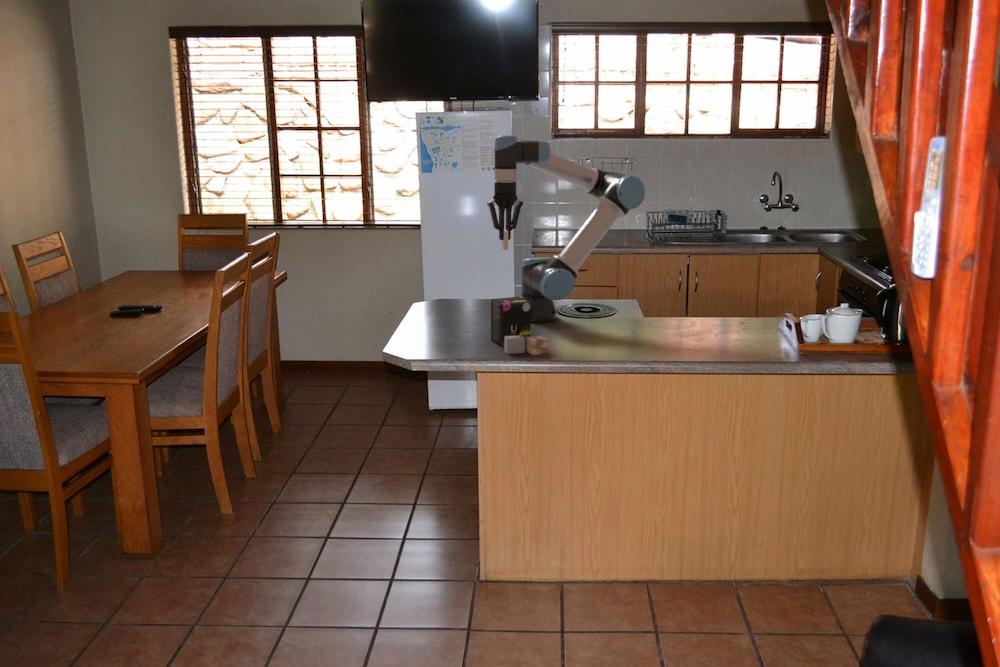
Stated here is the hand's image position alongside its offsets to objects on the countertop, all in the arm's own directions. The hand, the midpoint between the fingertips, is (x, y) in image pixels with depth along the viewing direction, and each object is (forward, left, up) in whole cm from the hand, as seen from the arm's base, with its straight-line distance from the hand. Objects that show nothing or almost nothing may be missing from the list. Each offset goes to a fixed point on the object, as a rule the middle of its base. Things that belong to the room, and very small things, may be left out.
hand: (504, 249), depth 313 cm
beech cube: (0, +30, -30) cm, 42 cm away
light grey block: (+6, +27, -30) cm, 40 cm away
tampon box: (+3, +15, -30) cm, 33 cm away
